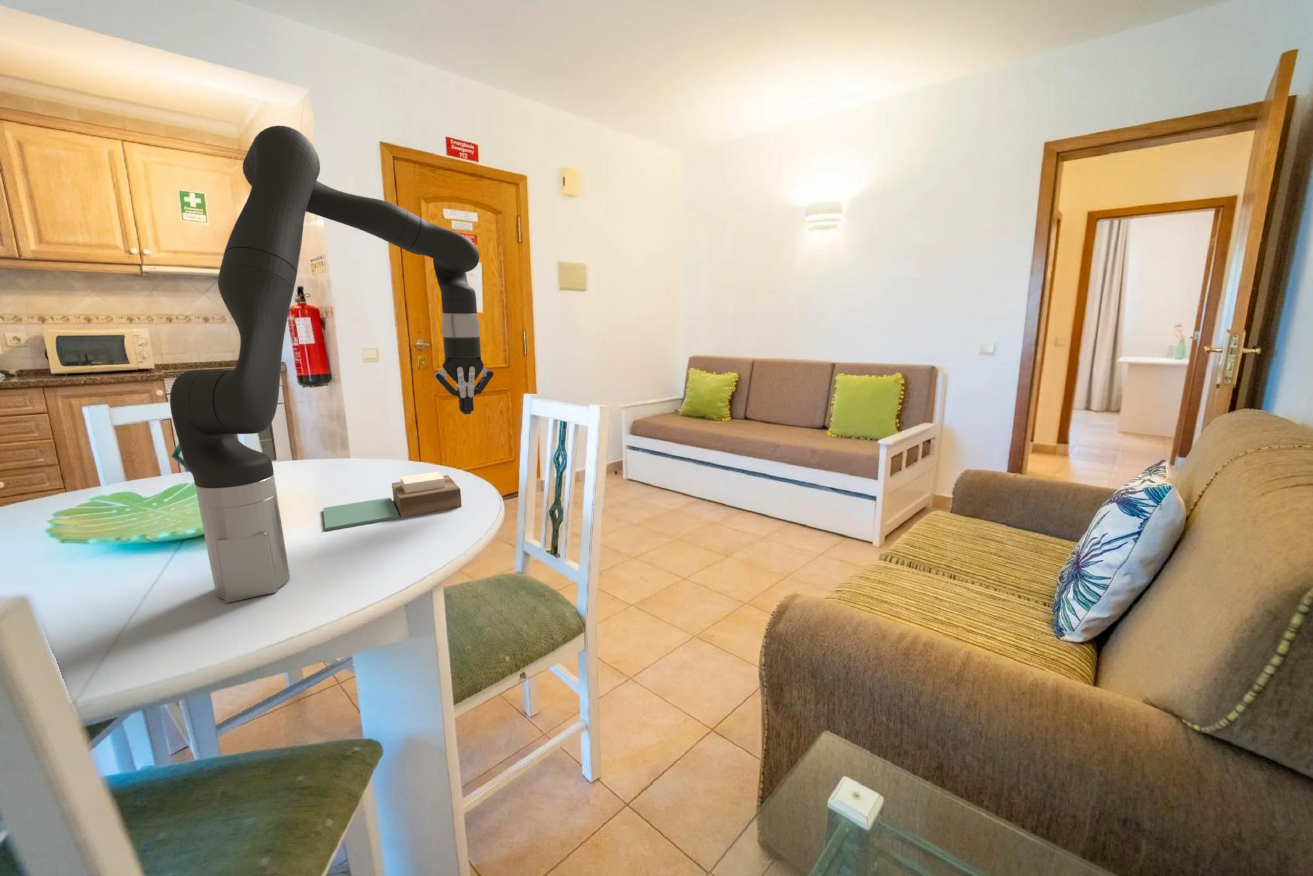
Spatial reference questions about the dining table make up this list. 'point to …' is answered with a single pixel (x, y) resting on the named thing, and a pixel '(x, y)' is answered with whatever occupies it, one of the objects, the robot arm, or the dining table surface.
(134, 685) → the dining table surface
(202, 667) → the dining table surface
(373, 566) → the dining table surface
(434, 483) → the cream flat block
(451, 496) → the block
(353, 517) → the mat
